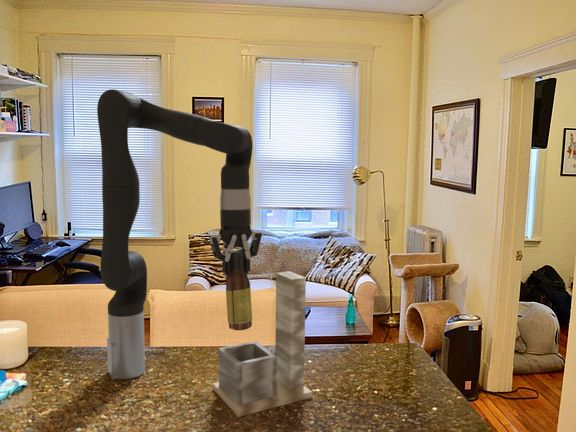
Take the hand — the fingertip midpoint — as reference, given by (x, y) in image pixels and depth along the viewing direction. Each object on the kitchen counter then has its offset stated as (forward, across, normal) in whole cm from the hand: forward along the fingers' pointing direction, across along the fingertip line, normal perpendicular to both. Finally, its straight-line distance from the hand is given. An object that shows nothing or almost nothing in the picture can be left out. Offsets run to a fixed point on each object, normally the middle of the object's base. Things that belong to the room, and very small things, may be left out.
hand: (236, 274), depth 126 cm
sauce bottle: (+14, -1, 0) cm, 14 cm away
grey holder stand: (+30, -4, +6) cm, 31 cm away
